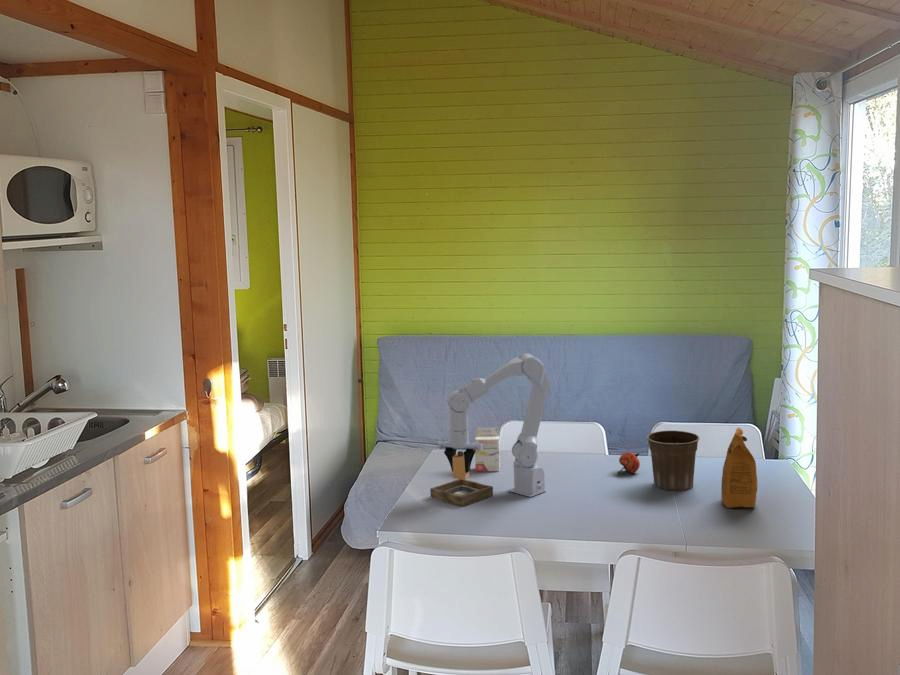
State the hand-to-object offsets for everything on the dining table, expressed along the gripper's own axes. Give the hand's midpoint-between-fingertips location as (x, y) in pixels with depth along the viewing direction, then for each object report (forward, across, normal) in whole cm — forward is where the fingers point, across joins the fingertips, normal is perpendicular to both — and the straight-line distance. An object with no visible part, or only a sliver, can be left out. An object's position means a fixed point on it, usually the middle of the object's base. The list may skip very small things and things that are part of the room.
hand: (460, 471), depth 269 cm
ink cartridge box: (+8, +1, -30) cm, 32 cm away
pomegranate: (+8, -46, -38) cm, 60 cm away
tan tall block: (+2, 0, 0) cm, 2 cm away
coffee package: (+8, -83, -15) cm, 85 cm away
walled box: (+8, 0, 0) cm, 8 cm away
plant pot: (+8, -62, -28) cm, 69 cm away
